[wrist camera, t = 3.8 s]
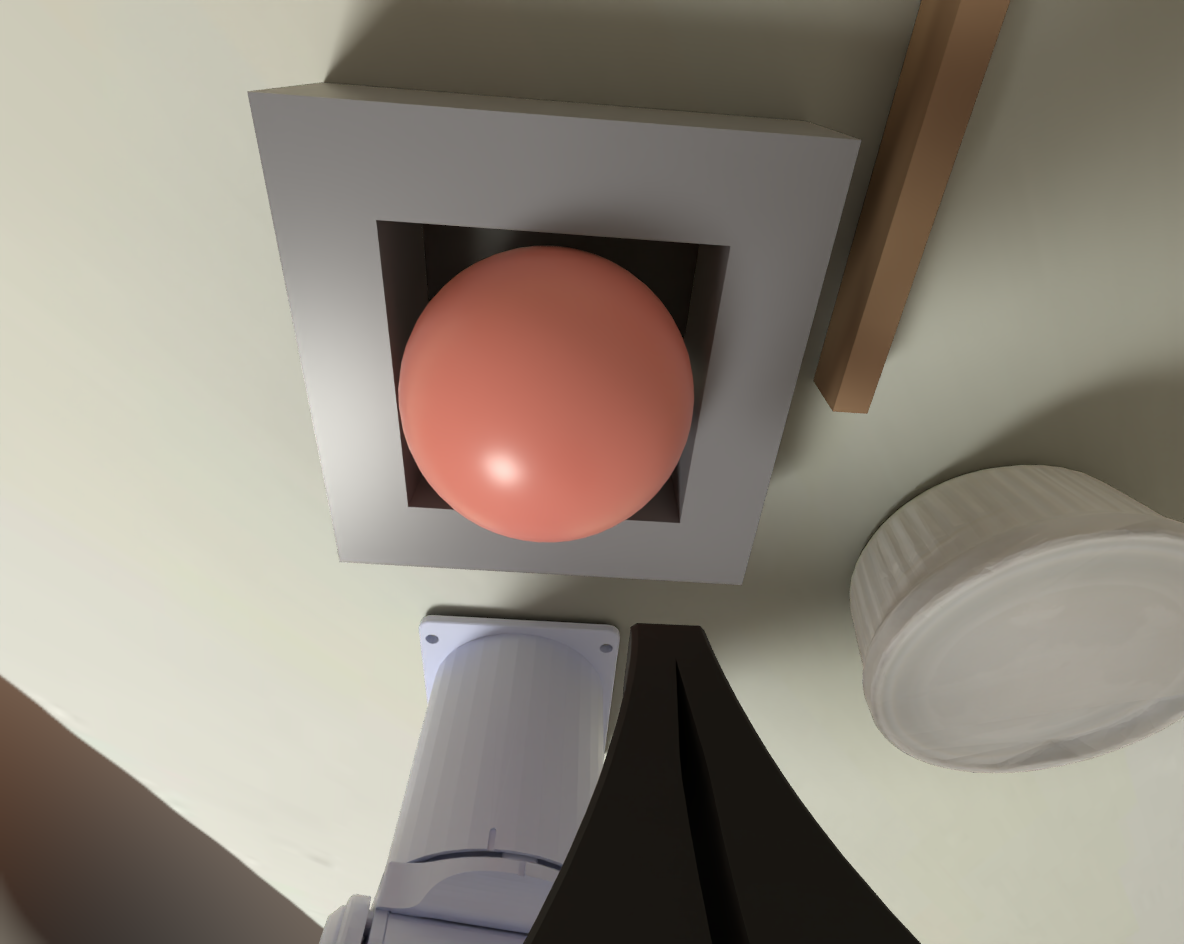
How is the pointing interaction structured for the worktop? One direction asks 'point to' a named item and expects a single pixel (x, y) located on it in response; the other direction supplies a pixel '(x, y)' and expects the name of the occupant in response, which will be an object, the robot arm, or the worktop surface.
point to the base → (554, 205)
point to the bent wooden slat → (905, 191)
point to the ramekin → (1021, 621)
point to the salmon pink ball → (546, 394)
